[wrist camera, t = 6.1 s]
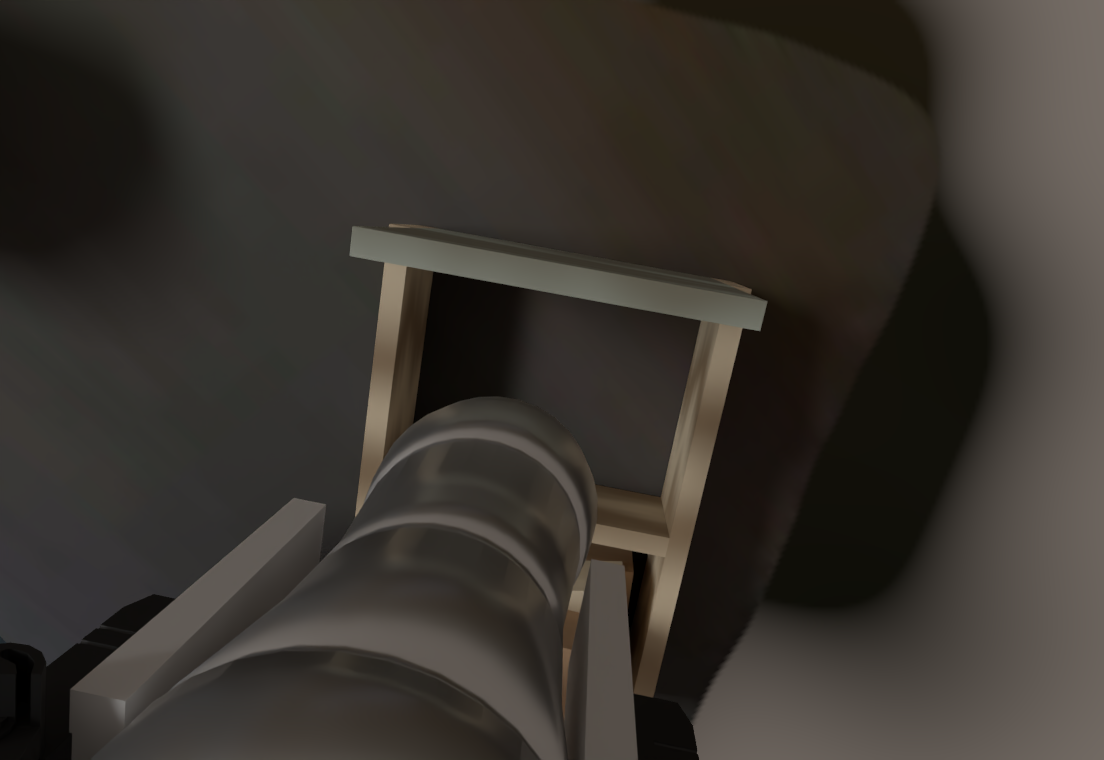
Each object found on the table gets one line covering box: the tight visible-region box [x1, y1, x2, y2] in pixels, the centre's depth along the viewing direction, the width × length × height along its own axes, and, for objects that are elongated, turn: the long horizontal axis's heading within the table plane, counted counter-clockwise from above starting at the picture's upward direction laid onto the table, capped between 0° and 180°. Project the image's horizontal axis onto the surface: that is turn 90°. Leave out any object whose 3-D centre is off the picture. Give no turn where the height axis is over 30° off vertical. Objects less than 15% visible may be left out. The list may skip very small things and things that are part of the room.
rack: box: [350, 224, 767, 697], centre depth 31 cm, size 24×16×12 cm, turn 170°
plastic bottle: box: [91, 396, 598, 760], centre depth 12 cm, size 6×7×20 cm
